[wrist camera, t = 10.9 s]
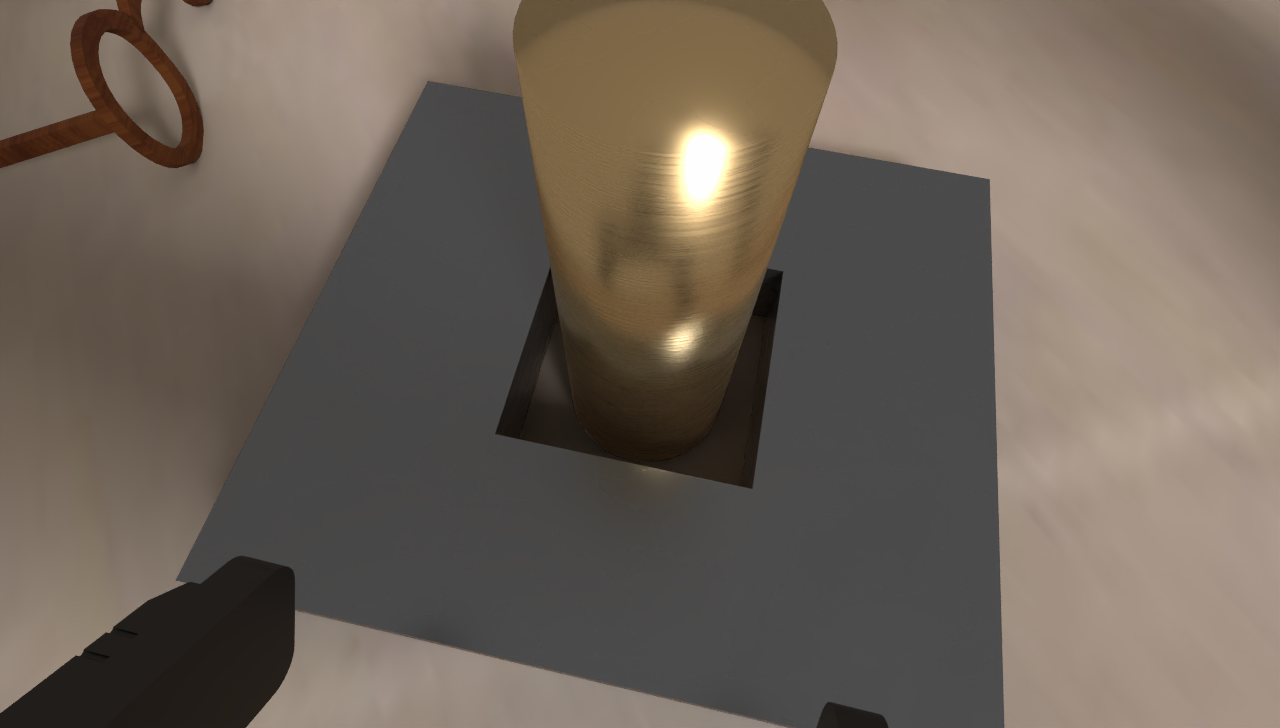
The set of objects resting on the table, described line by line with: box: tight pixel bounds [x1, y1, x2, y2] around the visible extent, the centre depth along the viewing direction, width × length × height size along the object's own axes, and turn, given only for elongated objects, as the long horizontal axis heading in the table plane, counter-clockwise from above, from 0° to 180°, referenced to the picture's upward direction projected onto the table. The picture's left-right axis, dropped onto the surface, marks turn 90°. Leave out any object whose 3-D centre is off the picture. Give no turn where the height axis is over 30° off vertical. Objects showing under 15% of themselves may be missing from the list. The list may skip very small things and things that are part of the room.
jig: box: [176, 81, 1004, 728], centre depth 19 cm, size 18×16×2 cm
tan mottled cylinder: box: [513, 0, 837, 462], centre depth 15 cm, size 4×4×12 cm
